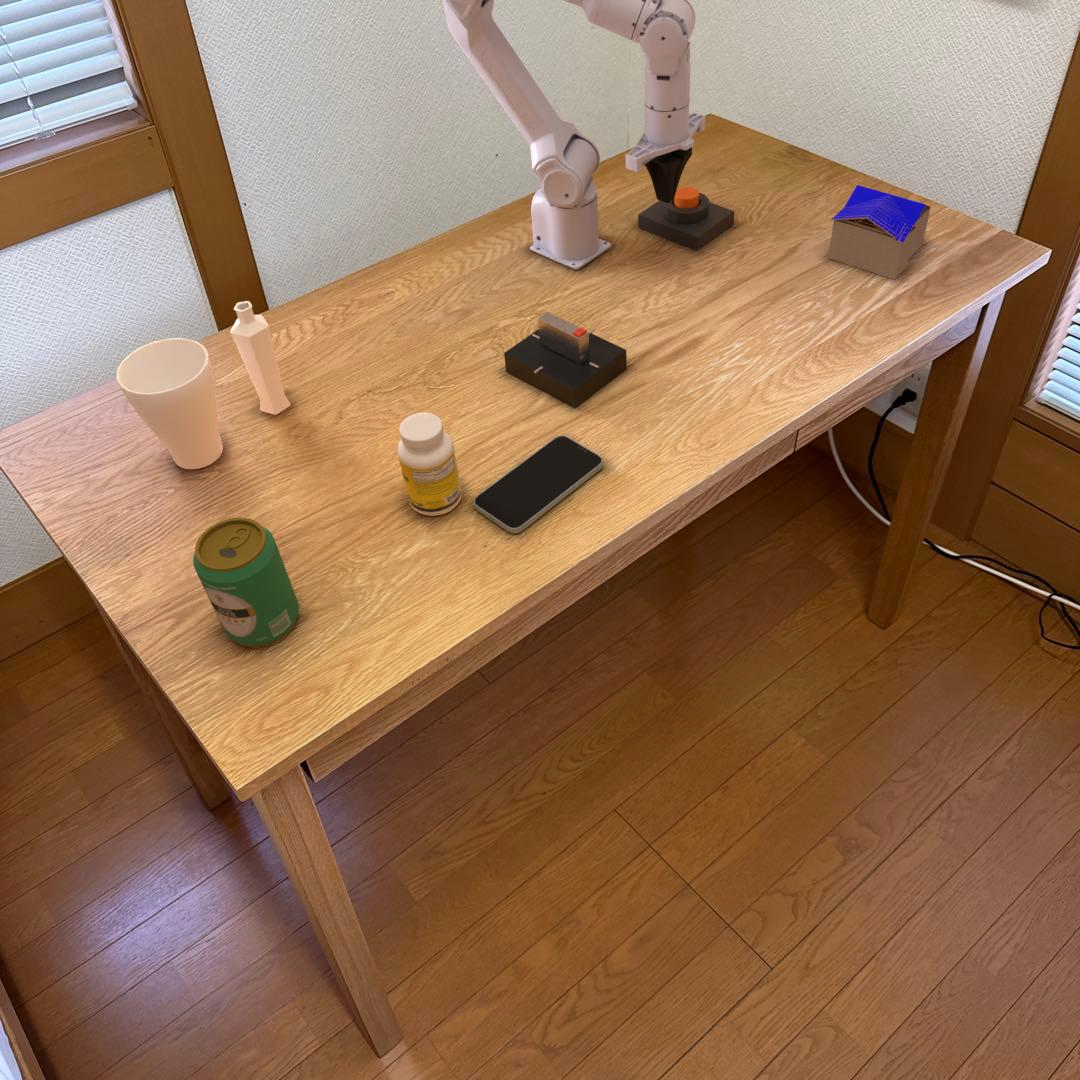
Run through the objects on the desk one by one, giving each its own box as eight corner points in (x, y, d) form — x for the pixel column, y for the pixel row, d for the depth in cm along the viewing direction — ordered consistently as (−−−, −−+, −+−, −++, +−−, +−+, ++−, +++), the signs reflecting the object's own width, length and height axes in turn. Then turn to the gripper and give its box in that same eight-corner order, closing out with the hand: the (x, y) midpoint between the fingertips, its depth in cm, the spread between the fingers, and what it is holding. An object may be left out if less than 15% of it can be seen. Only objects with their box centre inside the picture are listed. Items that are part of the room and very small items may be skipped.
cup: (167, 494, 124) (126, 406, 114) (147, 444, 131) (107, 356, 121) (251, 462, 127) (219, 373, 117) (228, 415, 133) (195, 327, 124)
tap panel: (502, 374, 135) (500, 354, 133) (560, 332, 140) (559, 313, 138) (572, 410, 129) (570, 390, 127) (629, 366, 134) (629, 346, 132)
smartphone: (469, 501, 118) (560, 432, 125) (470, 506, 119) (561, 438, 126) (514, 532, 114) (606, 459, 121) (515, 537, 115) (607, 465, 122)
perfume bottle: (300, 397, 135) (270, 298, 124) (281, 418, 132) (248, 319, 121) (271, 390, 136) (239, 291, 125) (251, 410, 134) (217, 311, 123)
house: (895, 281, 143) (906, 229, 137) (825, 258, 148) (832, 207, 142) (929, 246, 148) (940, 194, 143) (860, 225, 153) (868, 174, 148)
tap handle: (540, 344, 134) (537, 316, 131) (549, 337, 135) (547, 309, 132) (580, 365, 130) (579, 337, 127) (590, 358, 131) (588, 330, 128)
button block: (638, 227, 157) (638, 203, 154) (675, 202, 161) (675, 178, 159) (697, 251, 152) (698, 226, 149) (733, 224, 156) (735, 199, 153)
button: (669, 205, 154) (669, 194, 153) (684, 195, 156) (684, 184, 154) (688, 212, 152) (689, 201, 151) (703, 202, 154) (704, 191, 153)
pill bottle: (412, 481, 123) (395, 408, 115) (464, 479, 122) (451, 406, 114) (405, 519, 118) (388, 446, 110) (460, 517, 118) (446, 444, 110)
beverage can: (210, 640, 108) (172, 563, 99) (251, 584, 113) (218, 506, 104) (276, 659, 106) (243, 582, 97) (315, 601, 111) (286, 522, 102)
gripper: (656, 131, 129) (655, 230, 139) (726, 88, 136) (720, 186, 145) (612, 117, 132) (614, 214, 142) (682, 75, 139) (679, 171, 149)
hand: (665, 199), depth 144 cm, fingers closed
